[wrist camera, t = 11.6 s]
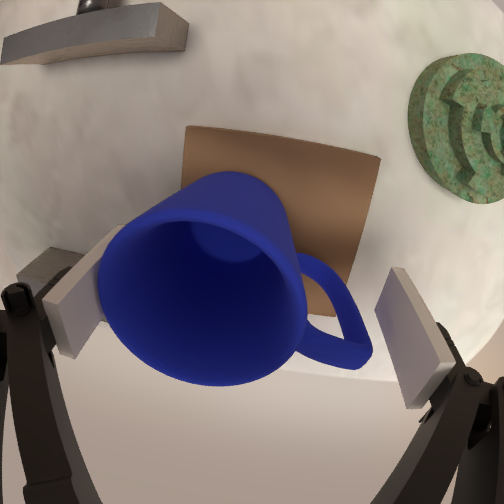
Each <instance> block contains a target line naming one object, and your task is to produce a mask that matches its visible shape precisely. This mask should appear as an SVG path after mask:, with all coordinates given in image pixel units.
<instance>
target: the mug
mask: <svg viewBox="0 0 504 504" xmlns="http://www.w3.org/2000/svg"><path fill="white" fill-rule="evenodd" d="M301 273H302V274H304V275H306V276H308V277H309V278H311V279H313V280H314V281H315V282H317V283H318V284H319V285H320V286H321V288H322V289H323V290H324V291H325V293H326V294H327V296H328V297H329V299H330V301H331V303H332V305H333V307H334V309H335V312H336V314H337V317H338V320H339V323H340V326H341V329H342V332H343V336H344V339H341V338H338V337H335V336H333V335H330V334H327V333H325V332H322V331H320V330H318V329H317V328H315V327H314V326H313V325H311V324H310V322H309V321H308V320H307V314H308V309H307V298H306V293H305V289H304V284H303V280H302V276H301ZM98 294H99V299H100V304H101V307H102V310H103V312H104V315H105V317H106V319H107V321H108V323H109V325H110V327H111V328H112V330H113V331H114V333H115V334H116V335H117V337H118V338H119V339H120V341H121V342H122V343H123V344H124V345H125V346H126V347H127V348H128V349H129V350H130V351H131V352H132V353H133V354H134V355H135V356H137V357H138V358H139V359H140V360H142V361H143V362H144V363H146V364H147V365H149V366H150V367H152V368H154V369H155V370H157V371H159V372H162V373H164V374H166V375H168V376H170V377H173V378H175V379H178V380H181V381H185V382H189V383H192V384H198V385H204V386H233V385H240V384H244V383H248V382H252V381H255V380H258V379H260V378H262V377H265V376H267V375H269V374H270V373H272V372H274V371H275V370H277V369H278V368H280V367H281V366H282V365H283V364H284V363H285V362H286V361H287V360H288V359H289V358H290V357H291V356H292V355H293V353H294V352H295V351H297V352H299V353H301V354H303V355H304V356H306V357H308V358H311V359H313V360H316V361H318V362H321V363H324V364H328V365H331V366H335V367H339V368H344V369H350V370H356V369H359V368H361V367H362V366H363V365H364V364H366V362H367V361H368V360H369V359H370V357H371V356H372V353H373V347H372V343H371V340H370V337H369V335H368V332H367V330H366V327H365V325H364V322H363V320H362V317H361V315H360V312H359V310H358V308H357V306H356V304H355V302H354V300H353V298H352V296H351V294H350V292H349V290H348V288H347V287H346V285H345V284H344V282H343V281H342V279H341V278H340V277H339V275H338V274H337V273H336V272H335V271H334V270H333V269H332V268H331V267H329V266H328V265H327V264H325V263H324V262H322V261H321V260H319V259H317V258H315V257H313V256H310V255H307V254H304V253H296V250H295V246H294V242H293V238H292V234H291V230H290V226H289V222H288V218H287V214H286V212H285V209H284V207H283V204H282V202H281V201H280V199H279V198H278V196H277V195H276V194H275V192H274V191H273V190H272V189H271V188H270V187H269V186H268V185H266V184H265V183H264V182H262V181H261V180H259V179H257V178H255V177H253V176H251V175H248V174H245V173H240V172H233V171H225V172H217V173H213V174H210V175H207V176H204V177H202V178H200V179H198V180H197V181H195V182H193V183H192V184H190V185H188V186H187V187H185V188H183V189H182V190H180V191H178V192H177V193H175V194H173V195H172V196H170V197H168V198H167V199H165V200H164V201H162V202H160V203H159V204H157V205H156V206H154V207H152V208H151V209H149V210H148V211H146V212H145V213H143V214H142V215H140V216H138V217H137V218H135V219H134V220H132V221H131V222H129V223H128V224H127V225H125V226H124V227H123V228H122V229H121V230H120V231H119V232H118V233H117V234H116V235H115V236H114V237H113V238H112V240H111V241H110V242H109V244H108V245H107V247H106V249H105V251H104V253H103V256H102V259H101V262H100V265H99V270H98Z"/></svg>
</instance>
